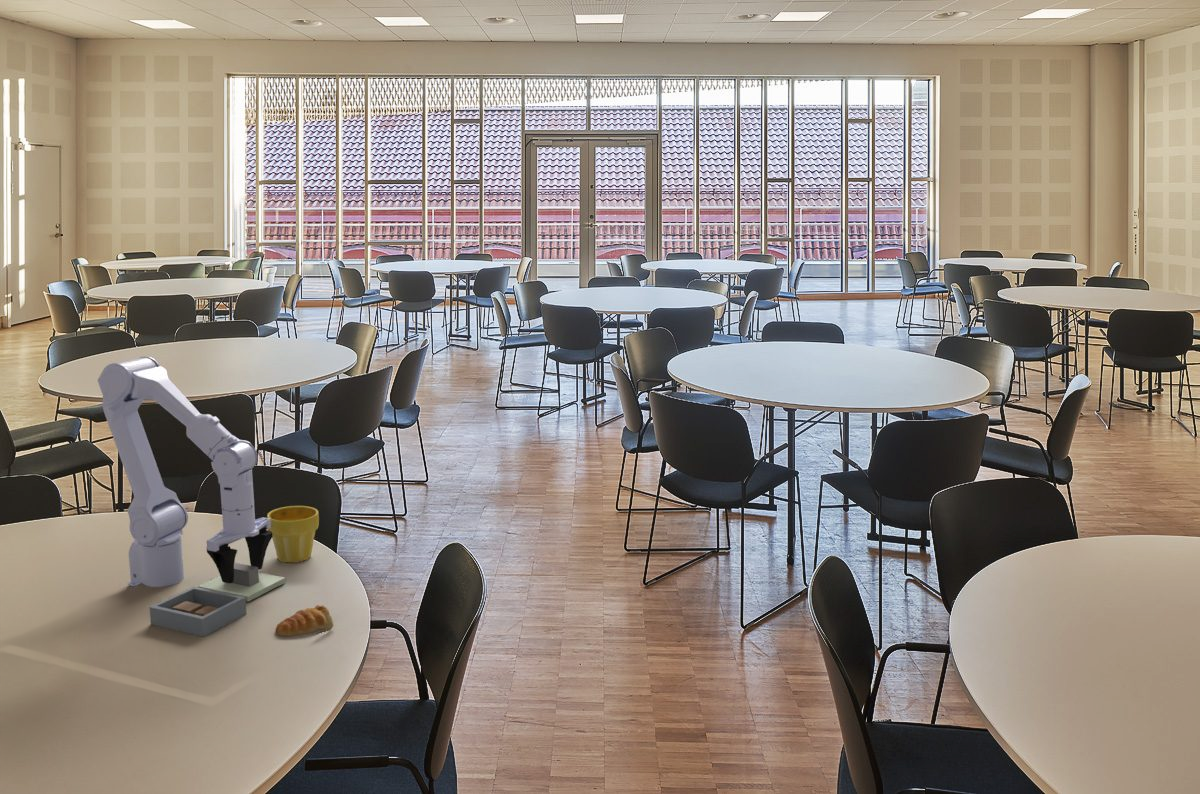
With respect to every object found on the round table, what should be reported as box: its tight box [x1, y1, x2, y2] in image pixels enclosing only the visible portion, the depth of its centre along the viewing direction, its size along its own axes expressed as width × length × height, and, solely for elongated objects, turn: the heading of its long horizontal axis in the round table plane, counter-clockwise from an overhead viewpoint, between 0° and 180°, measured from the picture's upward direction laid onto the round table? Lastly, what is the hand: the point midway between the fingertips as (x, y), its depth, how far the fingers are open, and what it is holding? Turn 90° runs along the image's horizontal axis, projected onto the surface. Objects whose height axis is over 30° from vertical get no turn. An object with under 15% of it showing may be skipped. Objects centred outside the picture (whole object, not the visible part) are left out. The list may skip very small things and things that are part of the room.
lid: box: [197, 562, 286, 603], centre depth 182 cm, size 12×10×5 cm
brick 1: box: [172, 601, 203, 615], centre depth 169 cm, size 4×3×2 cm
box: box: [148, 586, 247, 638], centre depth 168 cm, size 12×10×4 cm
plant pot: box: [266, 505, 320, 564], centre depth 200 cm, size 10×10×10 cm
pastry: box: [275, 604, 334, 638], centre depth 166 cm, size 9×7×4 cm
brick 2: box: [195, 606, 218, 616], centre depth 167 cm, size 4×3×2 cm
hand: (242, 575), depth 182 cm, fingers open, 7 cm apart
